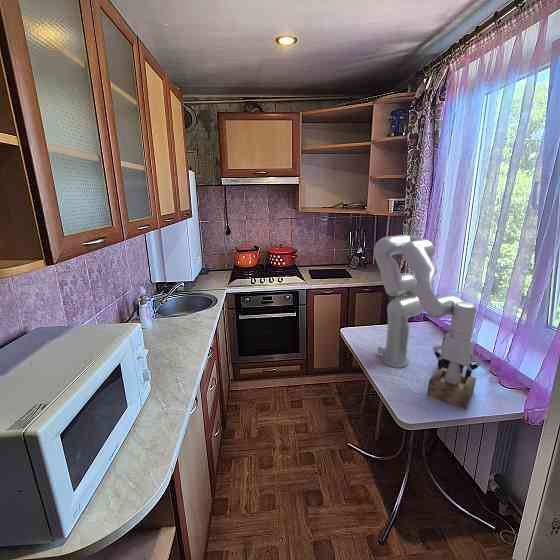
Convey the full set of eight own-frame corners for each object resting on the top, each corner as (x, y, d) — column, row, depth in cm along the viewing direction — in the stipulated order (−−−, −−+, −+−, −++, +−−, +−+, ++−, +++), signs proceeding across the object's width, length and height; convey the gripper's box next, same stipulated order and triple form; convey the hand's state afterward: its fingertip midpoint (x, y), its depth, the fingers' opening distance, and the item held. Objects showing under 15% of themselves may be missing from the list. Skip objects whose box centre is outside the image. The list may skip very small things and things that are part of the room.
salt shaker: (454, 379, 131) (458, 351, 128) (462, 388, 126) (467, 359, 122) (440, 380, 131) (444, 352, 127) (448, 389, 126) (452, 360, 122)
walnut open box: (426, 396, 129) (429, 380, 127) (436, 380, 139) (438, 366, 137) (466, 410, 120) (469, 394, 118) (473, 392, 131) (476, 377, 129)
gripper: (433, 330, 125) (427, 368, 130) (484, 344, 114) (475, 386, 119) (439, 324, 130) (433, 361, 135) (488, 337, 119) (480, 377, 124)
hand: (453, 372), depth 127 cm, fingers open, 9 cm apart
